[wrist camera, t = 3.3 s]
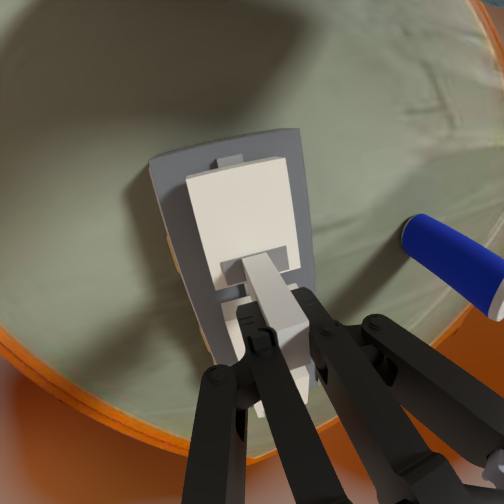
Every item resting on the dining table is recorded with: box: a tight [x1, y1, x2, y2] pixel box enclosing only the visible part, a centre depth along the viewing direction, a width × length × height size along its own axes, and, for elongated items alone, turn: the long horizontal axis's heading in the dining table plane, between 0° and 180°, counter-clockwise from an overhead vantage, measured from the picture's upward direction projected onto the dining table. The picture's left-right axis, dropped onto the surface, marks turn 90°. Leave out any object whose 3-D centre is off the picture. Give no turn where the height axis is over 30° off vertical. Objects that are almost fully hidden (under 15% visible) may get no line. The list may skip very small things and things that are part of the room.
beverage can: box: [401, 214, 504, 321], centre depth 21 cm, size 5×5×15 cm
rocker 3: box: [254, 366, 309, 418], centre depth 25 cm, size 7×6×2 cm
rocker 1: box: [186, 156, 301, 290], centre depth 17 cm, size 7×6×2 cm
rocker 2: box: [221, 283, 298, 361], centre depth 21 cm, size 7×6×2 cm
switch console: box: [148, 128, 318, 408], centre depth 24 cm, size 28×10×5 cm, turn 10°
